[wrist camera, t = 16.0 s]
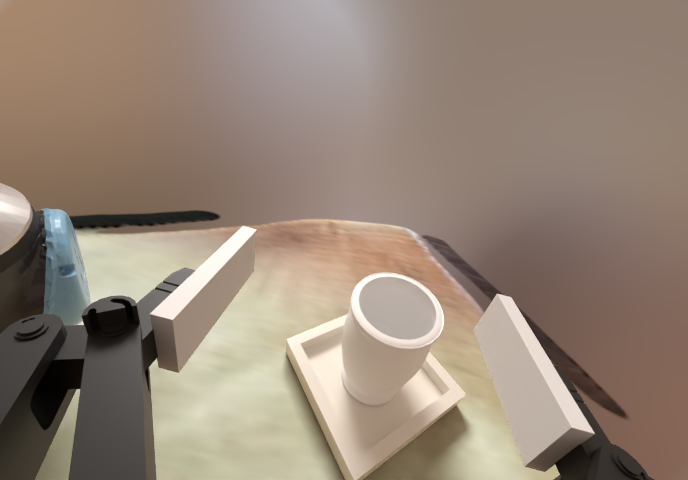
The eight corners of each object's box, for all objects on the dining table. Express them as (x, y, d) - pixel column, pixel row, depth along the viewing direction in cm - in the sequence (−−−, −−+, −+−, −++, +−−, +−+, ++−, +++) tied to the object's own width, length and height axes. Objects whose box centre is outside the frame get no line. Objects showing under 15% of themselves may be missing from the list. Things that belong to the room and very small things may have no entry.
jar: (355, 329, 45) (374, 260, 36) (415, 363, 41) (453, 296, 33) (319, 385, 37) (332, 314, 28) (390, 433, 33) (430, 369, 25)
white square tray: (285, 351, 41) (286, 339, 39) (379, 311, 50) (383, 299, 48) (349, 489, 30) (354, 481, 28) (456, 405, 39) (466, 394, 37)
